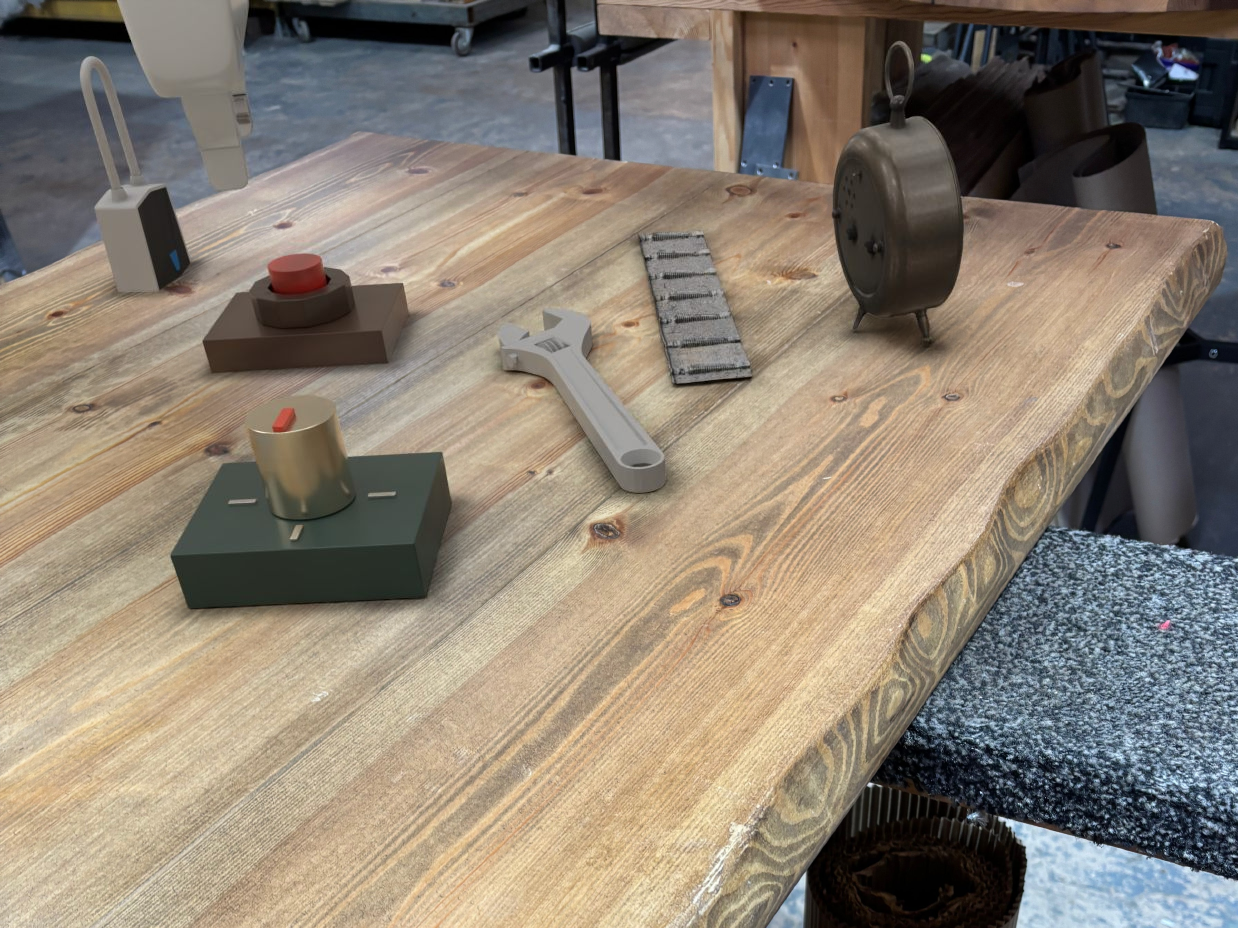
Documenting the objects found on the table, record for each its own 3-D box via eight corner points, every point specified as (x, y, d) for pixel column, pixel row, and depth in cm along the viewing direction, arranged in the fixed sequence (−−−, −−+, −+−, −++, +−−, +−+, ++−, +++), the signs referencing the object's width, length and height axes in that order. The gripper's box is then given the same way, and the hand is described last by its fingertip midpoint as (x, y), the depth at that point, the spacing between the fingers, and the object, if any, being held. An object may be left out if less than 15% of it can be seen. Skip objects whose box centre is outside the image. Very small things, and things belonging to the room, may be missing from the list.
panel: (187, 609, 66) (167, 551, 64) (237, 513, 74) (221, 459, 71) (425, 598, 66) (413, 539, 63) (452, 502, 73) (442, 448, 71)
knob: (280, 481, 69) (256, 390, 66) (363, 477, 69) (342, 386, 66) (258, 521, 66) (231, 428, 63) (345, 518, 66) (322, 424, 62)
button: (268, 300, 88) (261, 272, 87) (280, 281, 91) (274, 254, 90) (321, 297, 88) (315, 269, 87) (332, 278, 91) (326, 251, 90)
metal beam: (701, 236, 105) (637, 239, 104) (701, 224, 104) (636, 227, 104) (753, 380, 83) (671, 384, 82) (753, 365, 82) (671, 370, 82)
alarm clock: (959, 349, 84) (985, 53, 73) (880, 363, 83) (895, 66, 72) (889, 293, 92) (903, 19, 81) (816, 306, 91) (820, 30, 80)
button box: (211, 373, 89) (193, 312, 86) (244, 323, 96) (228, 265, 93) (388, 363, 88) (375, 301, 86) (409, 314, 95) (398, 255, 92)
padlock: (163, 291, 102) (95, 66, 92) (112, 292, 102) (39, 68, 92) (196, 261, 107) (135, 44, 96) (148, 262, 107) (81, 47, 97)
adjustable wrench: (674, 490, 73) (672, 459, 71) (559, 510, 72) (555, 479, 71) (584, 328, 91) (581, 301, 89) (491, 343, 90) (487, 316, 89)
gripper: (97, -212, 63) (182, 115, 73) (36, -177, 48) (153, 228, 58) (231, -222, 64) (299, 103, 73) (212, -191, 49) (300, 211, 59)
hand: (234, 159), depth 65 cm, fingers open, 8 cm apart
